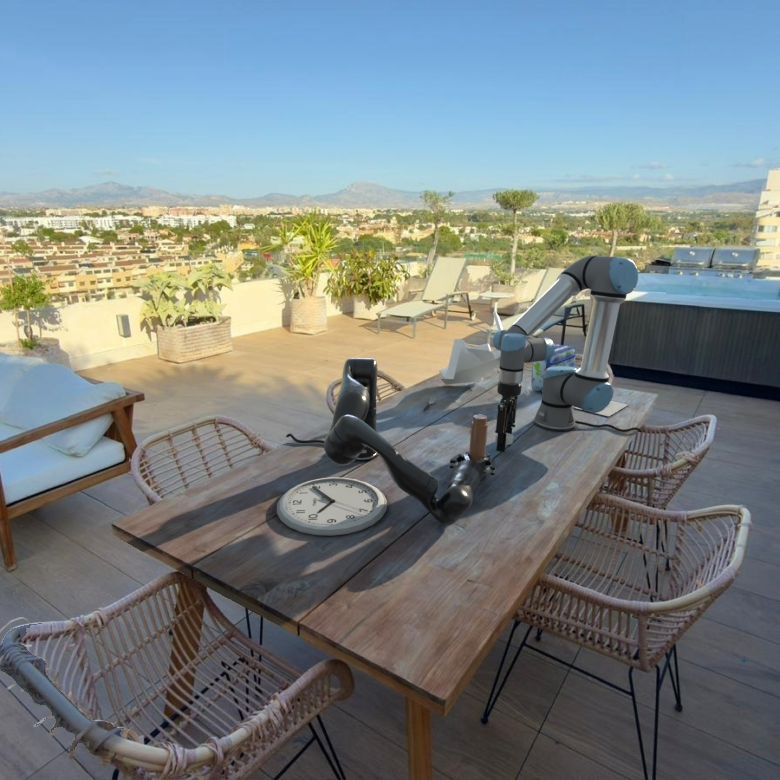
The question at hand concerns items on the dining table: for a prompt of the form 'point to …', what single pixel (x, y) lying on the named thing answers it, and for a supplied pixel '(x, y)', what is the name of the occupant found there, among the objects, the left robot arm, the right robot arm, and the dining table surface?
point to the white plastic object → (473, 362)
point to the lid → (507, 438)
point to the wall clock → (331, 506)
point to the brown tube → (478, 438)
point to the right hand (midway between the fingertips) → (503, 448)
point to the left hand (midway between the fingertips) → (478, 454)
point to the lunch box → (552, 364)
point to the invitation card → (610, 408)
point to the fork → (430, 403)
